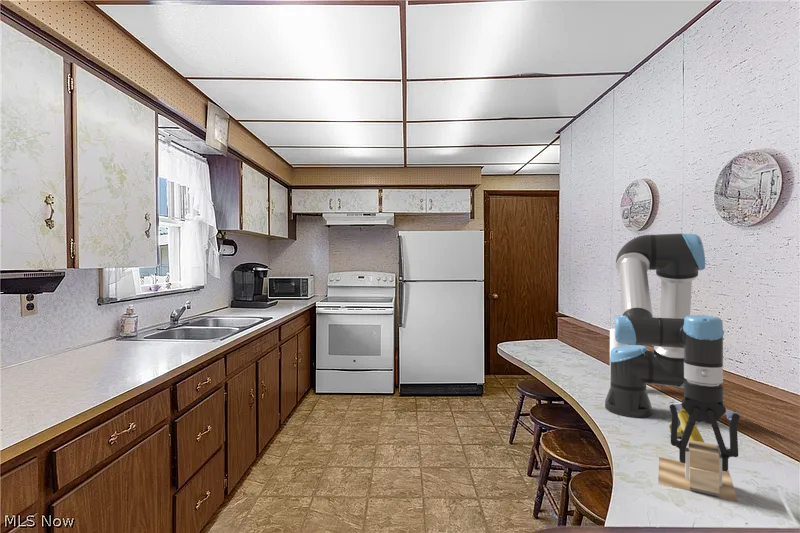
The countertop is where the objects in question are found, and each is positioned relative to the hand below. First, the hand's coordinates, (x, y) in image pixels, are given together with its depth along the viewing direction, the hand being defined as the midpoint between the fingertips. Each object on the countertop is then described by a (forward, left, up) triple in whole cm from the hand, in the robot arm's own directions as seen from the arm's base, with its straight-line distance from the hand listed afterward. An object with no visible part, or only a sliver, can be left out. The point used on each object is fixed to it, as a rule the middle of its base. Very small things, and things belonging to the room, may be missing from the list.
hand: (703, 479), depth 101 cm
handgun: (-26, -2, -3) cm, 26 cm away
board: (-4, -1, -3) cm, 5 cm away
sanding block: (0, 0, -1) cm, 1 cm away
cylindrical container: (-80, -24, -3) cm, 83 cm away
